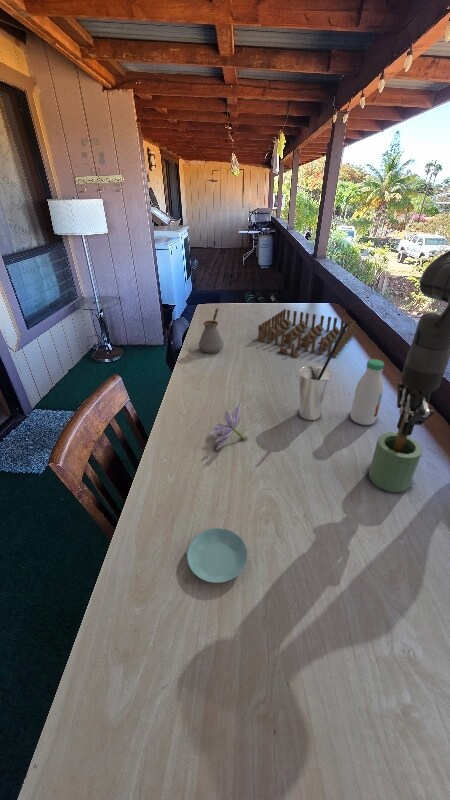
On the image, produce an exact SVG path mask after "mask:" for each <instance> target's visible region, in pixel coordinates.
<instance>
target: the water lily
mask: <svg viewBox="0 0 450 800" xmlns="http://www.w3.org/2000/svg"><path fill="white" fill-rule="evenodd" d="M242 418H243V414H241V403H238V405H237V406H235V407H234V409H233V410H232V413H231V414H230V412H228V411H224V414H223V419H224V421H225V423H216V424H214V427H215V428H214V429H212V430H211V431H210V432H209V433H210V434H211V435H212V434H213V435H220V434H222V435H220V436H218V437H217V438H216V439H215V442H214V443H218V442H219V443H218V445H217V447H216V451H218V450H219V449H220V448H222V446H224V445H225V444H226V442H228V440H229V439H230V437H231V436H232V434H233V432H235V433H236V434H237V435H238V436H239V437H240V438H241V439H242V440H244V441H245V437H244V436H243V435H242V434H241V433H240V432H239V431H238V430H237V429H236V428H238V426H239V425H240V423H241V421H242Z"/></svg>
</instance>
